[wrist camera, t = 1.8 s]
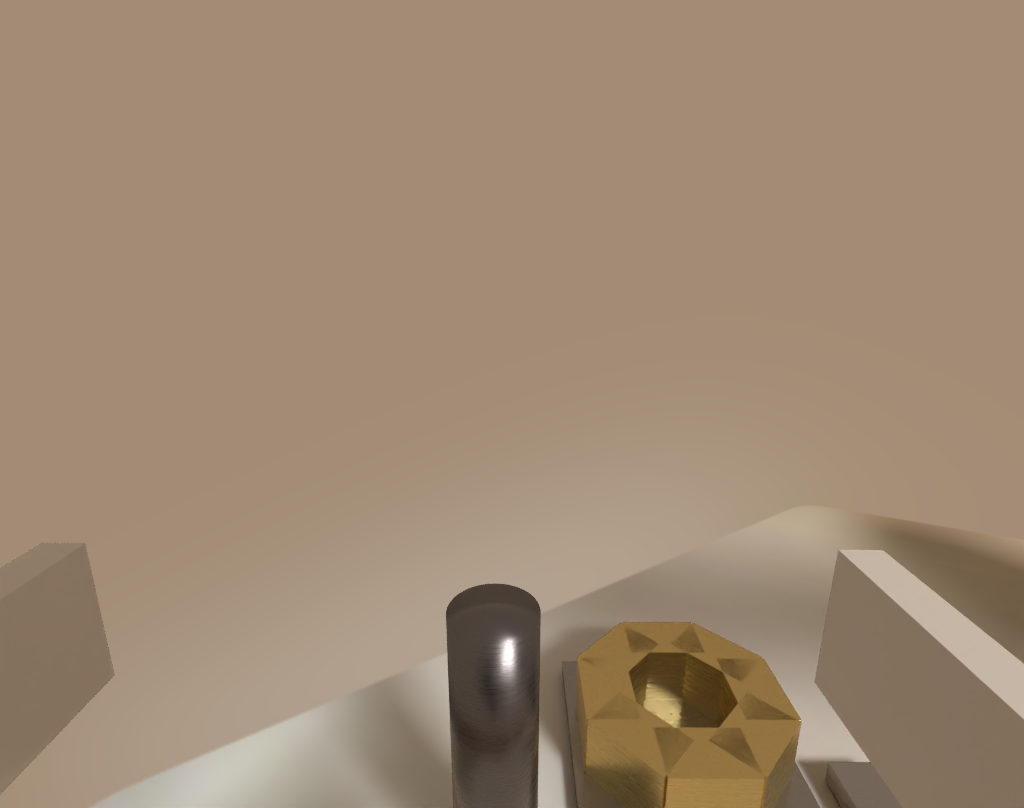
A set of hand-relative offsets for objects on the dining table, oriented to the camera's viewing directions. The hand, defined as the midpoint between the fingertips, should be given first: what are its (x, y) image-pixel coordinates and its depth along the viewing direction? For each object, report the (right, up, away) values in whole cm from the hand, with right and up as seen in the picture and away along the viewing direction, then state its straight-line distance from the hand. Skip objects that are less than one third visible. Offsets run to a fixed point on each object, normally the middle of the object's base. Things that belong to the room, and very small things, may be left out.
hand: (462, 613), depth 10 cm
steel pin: (0, -18, +15) cm, 23 cm away
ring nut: (+10, -16, +22) cm, 29 cm away
